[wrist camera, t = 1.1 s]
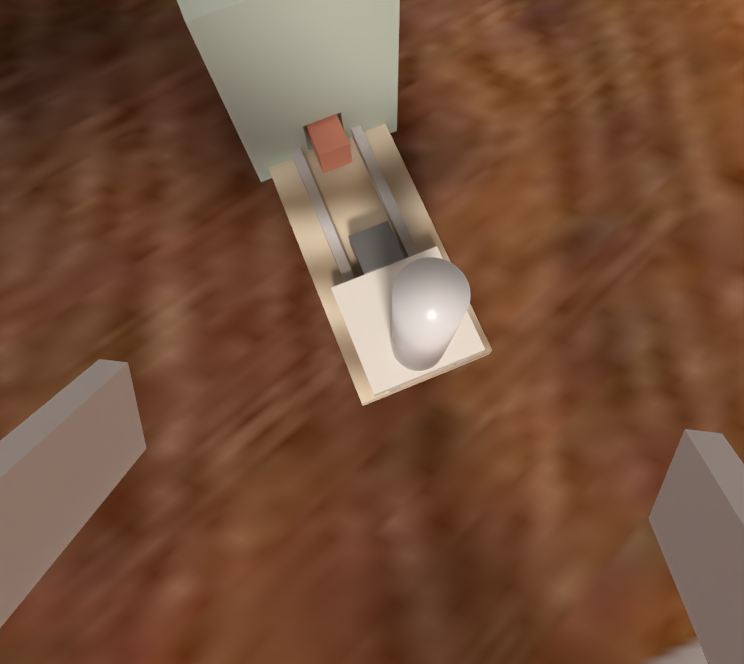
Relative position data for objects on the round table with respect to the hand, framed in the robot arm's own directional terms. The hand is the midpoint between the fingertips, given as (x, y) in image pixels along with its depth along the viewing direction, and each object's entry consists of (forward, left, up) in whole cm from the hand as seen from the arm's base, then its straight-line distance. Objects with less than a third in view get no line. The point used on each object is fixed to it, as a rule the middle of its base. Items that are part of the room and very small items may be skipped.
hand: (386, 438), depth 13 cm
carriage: (-9, +4, -22) cm, 25 cm away
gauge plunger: (-23, +4, -23) cm, 33 cm away
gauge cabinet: (-26, +4, -25) cm, 36 cm away
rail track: (-14, +4, -25) cm, 29 cm away
